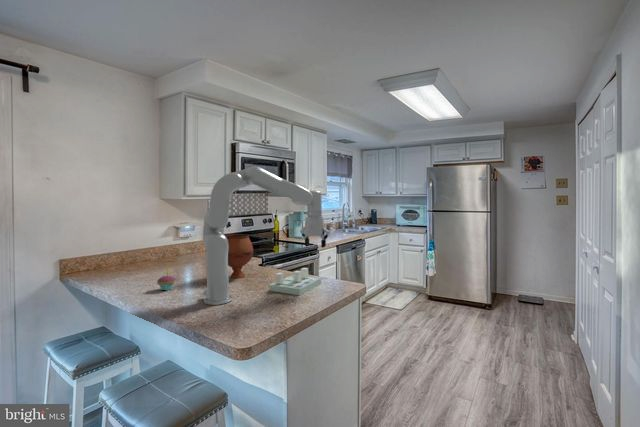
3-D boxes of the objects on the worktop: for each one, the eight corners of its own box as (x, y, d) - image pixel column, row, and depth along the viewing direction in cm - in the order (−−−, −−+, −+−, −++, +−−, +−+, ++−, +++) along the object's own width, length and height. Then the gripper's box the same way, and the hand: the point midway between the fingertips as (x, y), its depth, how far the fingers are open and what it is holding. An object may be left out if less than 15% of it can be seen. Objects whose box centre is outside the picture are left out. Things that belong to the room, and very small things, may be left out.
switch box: (269, 290, 166) (269, 284, 166) (292, 280, 186) (292, 274, 185) (299, 295, 158) (299, 288, 158) (320, 283, 177) (320, 278, 177)
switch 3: (300, 278, 177) (300, 268, 177) (303, 276, 180) (303, 267, 180) (305, 278, 176) (305, 269, 175) (308, 277, 178) (308, 268, 178)
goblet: (235, 283, 182) (233, 238, 180) (214, 278, 193) (212, 236, 192) (260, 275, 197) (259, 234, 195) (240, 271, 208) (239, 232, 207)
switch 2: (293, 281, 170) (293, 271, 170) (296, 280, 173) (296, 270, 173) (298, 282, 169) (298, 272, 169) (301, 280, 172) (301, 271, 171)
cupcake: (165, 287, 176) (164, 264, 175) (179, 287, 174) (178, 265, 173) (153, 291, 167) (152, 268, 166) (168, 292, 165) (167, 269, 165)
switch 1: (275, 283, 167) (275, 273, 166) (279, 282, 169) (278, 272, 169) (280, 284, 165) (280, 274, 165) (283, 282, 168) (283, 273, 168)
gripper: (296, 214, 173) (297, 246, 174) (326, 215, 165) (326, 248, 166) (303, 213, 179) (304, 244, 180) (332, 214, 171) (333, 246, 172)
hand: (315, 246), depth 173 cm, fingers open, 9 cm apart
